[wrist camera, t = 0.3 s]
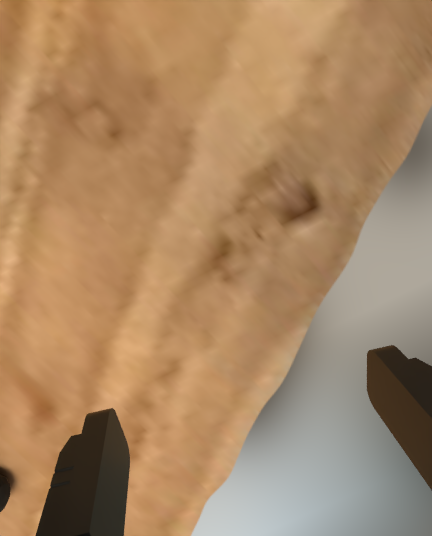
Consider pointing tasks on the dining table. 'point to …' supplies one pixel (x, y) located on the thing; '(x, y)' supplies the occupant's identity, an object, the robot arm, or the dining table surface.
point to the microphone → (4, 492)
